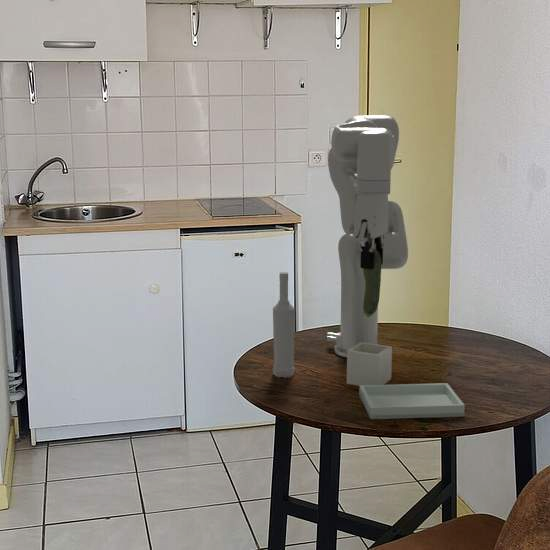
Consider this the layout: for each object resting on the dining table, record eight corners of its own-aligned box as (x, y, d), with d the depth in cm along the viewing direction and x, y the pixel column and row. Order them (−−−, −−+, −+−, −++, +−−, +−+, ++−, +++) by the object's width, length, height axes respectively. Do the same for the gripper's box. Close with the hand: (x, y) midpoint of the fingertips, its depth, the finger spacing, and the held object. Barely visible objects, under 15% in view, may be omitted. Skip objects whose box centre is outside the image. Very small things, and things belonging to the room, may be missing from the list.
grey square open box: (346, 383, 212) (347, 350, 211) (359, 373, 219) (360, 341, 218) (378, 389, 209) (379, 355, 207) (391, 378, 216) (392, 346, 214)
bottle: (268, 374, 219) (268, 273, 213) (283, 369, 222) (283, 269, 217) (284, 379, 215) (284, 276, 210) (298, 374, 219) (299, 272, 214)
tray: (370, 419, 191) (370, 407, 190) (359, 396, 204) (359, 385, 204) (464, 416, 192) (464, 405, 192) (446, 393, 206) (447, 383, 205)
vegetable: (381, 316, 212) (384, 231, 208) (377, 321, 208) (380, 235, 204) (363, 314, 214) (365, 230, 209) (358, 319, 210) (360, 233, 205)
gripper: (371, 181, 213) (370, 258, 217) (343, 190, 199) (341, 272, 203) (402, 183, 210) (399, 261, 214) (375, 192, 195) (373, 275, 199)
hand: (371, 265), depth 208 cm, fingers closed on vegetable, 4 cm apart
